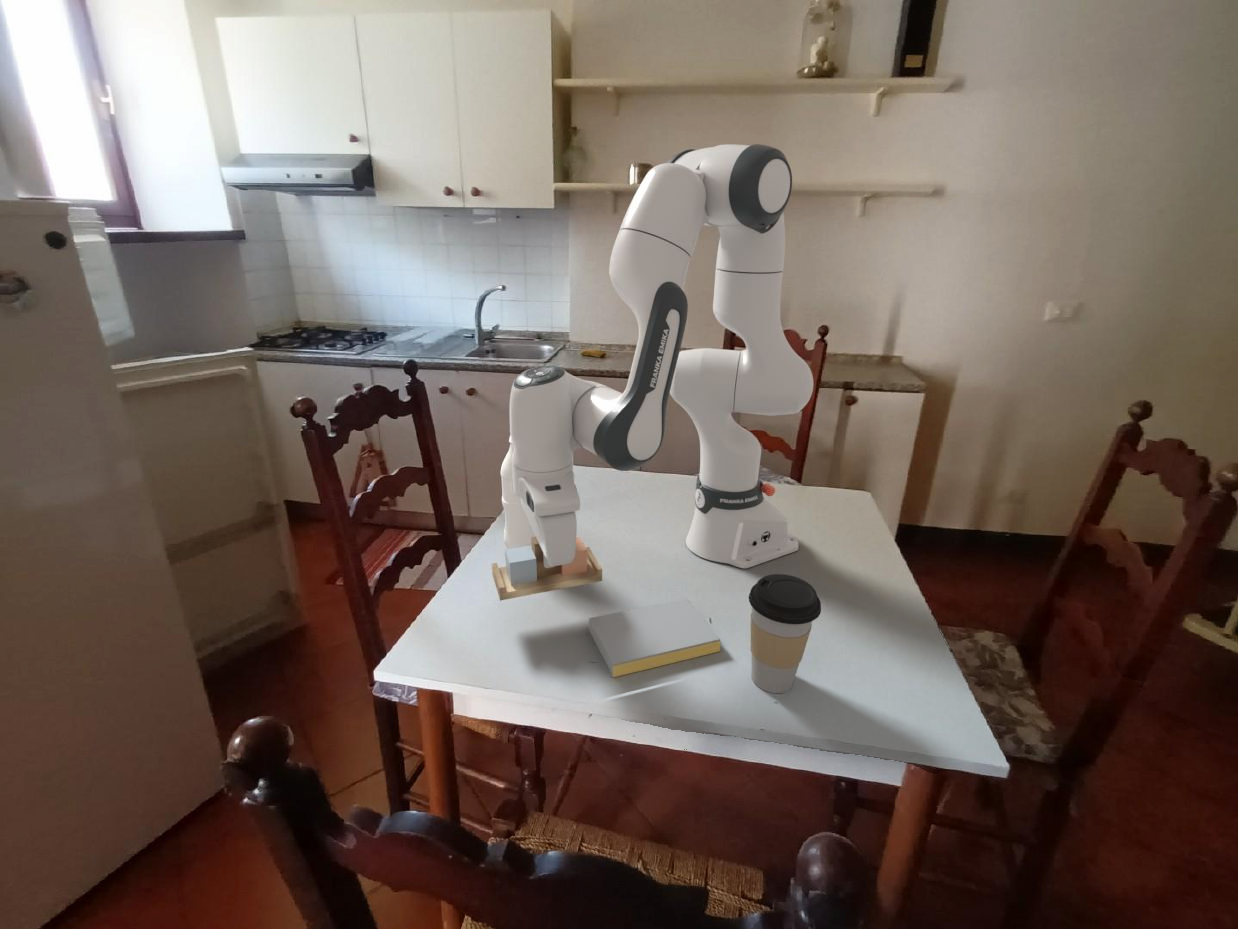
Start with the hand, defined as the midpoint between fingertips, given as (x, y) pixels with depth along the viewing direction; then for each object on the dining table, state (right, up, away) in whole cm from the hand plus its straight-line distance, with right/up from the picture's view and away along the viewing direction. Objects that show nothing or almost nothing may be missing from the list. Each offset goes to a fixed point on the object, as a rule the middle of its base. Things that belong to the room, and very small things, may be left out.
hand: (546, 559), depth 94 cm
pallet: (0, -3, +1) cm, 4 cm away
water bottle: (-7, -2, +23) cm, 24 cm away
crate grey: (-4, -3, 0) cm, 5 cm away
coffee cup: (+33, -16, -8) cm, 38 cm away
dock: (+17, -13, -1) cm, 21 cm away
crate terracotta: (+4, -2, +2) cm, 5 cm away
